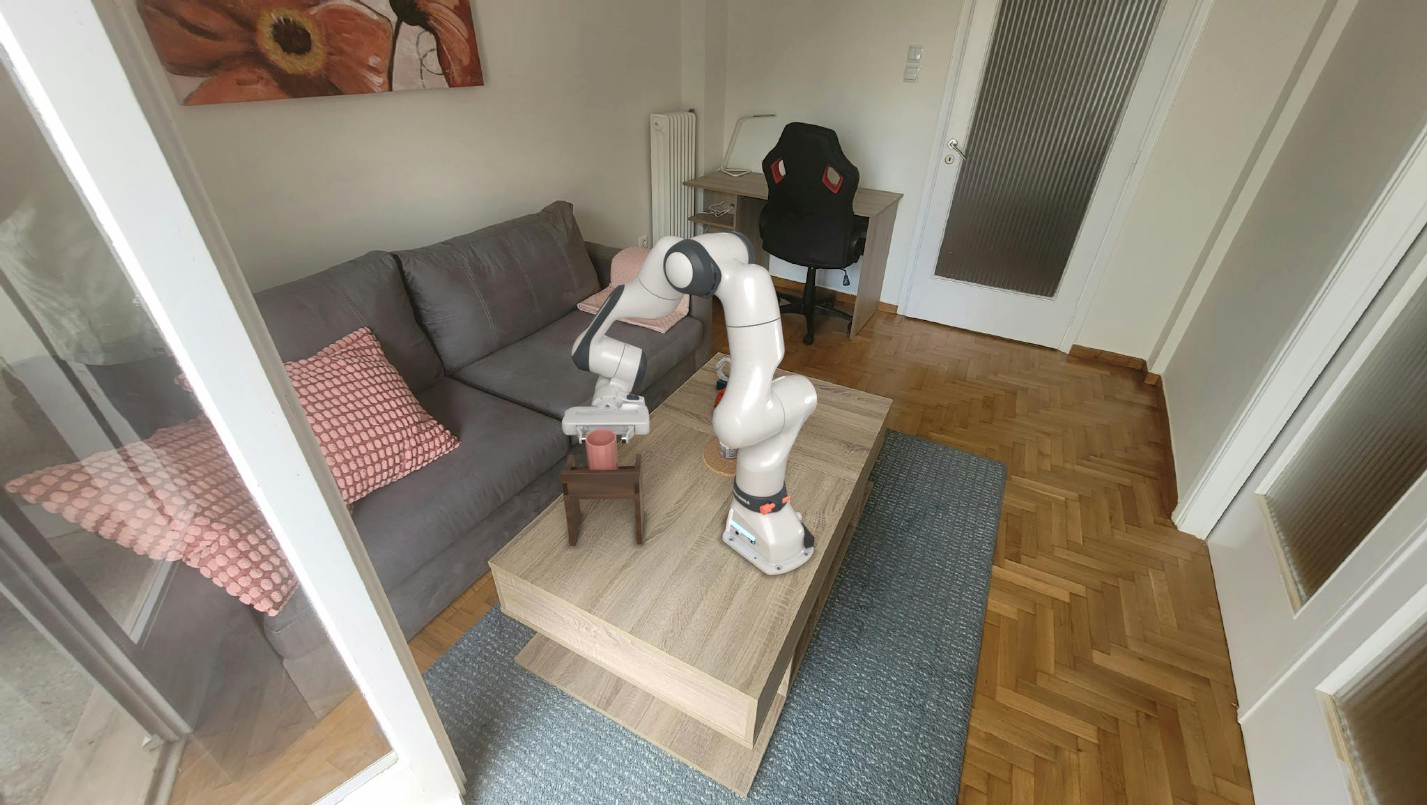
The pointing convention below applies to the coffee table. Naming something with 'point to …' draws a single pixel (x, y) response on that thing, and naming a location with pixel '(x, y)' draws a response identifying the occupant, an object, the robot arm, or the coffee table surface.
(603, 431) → the cup
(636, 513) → the dark wooden stand
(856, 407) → the coffee table surface
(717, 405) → the red clay folk toy
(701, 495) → the coffee table surface
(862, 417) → the coffee table surface
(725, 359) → the watch
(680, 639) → the coffee table surface
